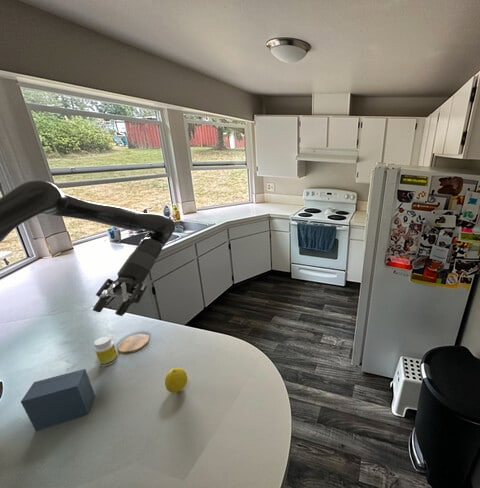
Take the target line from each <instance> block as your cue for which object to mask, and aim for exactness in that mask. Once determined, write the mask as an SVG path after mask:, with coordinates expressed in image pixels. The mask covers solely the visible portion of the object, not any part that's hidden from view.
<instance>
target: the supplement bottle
mask: <svg viewBox="0 0 480 488" xmlns="http://www.w3.org/2000/svg"><path fill="white" fill-rule="evenodd" d="M93 345H94V353H95V356H96V359H97V361H98V365H99V367H107V366H110V365H112V364H115V362H117V360H118V358H119V357H118V353H117V350H116V346H115V343H114V342H113V340H112V338H111V336H102V337H100V338H98V339H96V340H95V341H94V342H93Z"/></svg>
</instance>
